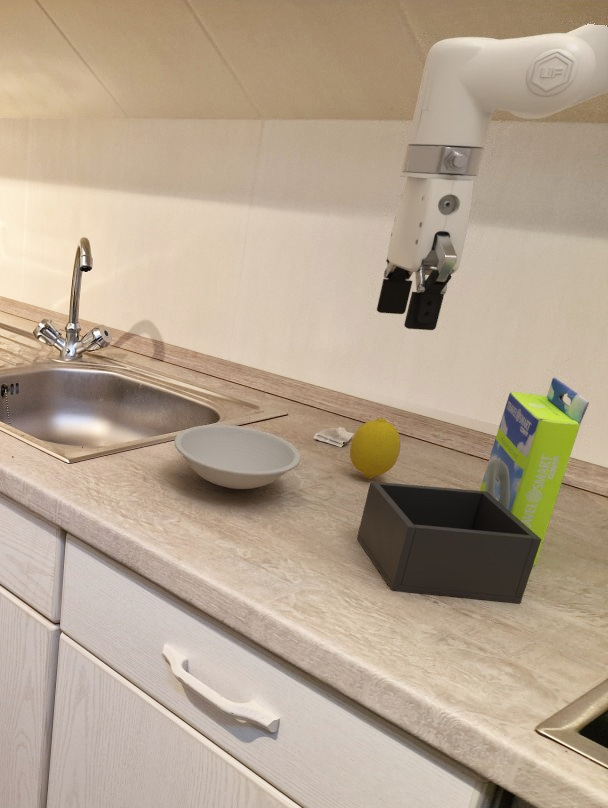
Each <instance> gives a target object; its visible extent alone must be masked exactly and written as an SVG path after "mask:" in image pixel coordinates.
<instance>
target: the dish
mask: <svg viewBox="0 0 608 808" xmlns="http://www.w3.org/2000/svg"><path fill="white" fill-rule="evenodd" d="M174 446H175V449H176V450H177V452H178V453H179V454H180V455H181V456H182V457H183V458H184V460H185V461H186V463H187V464H188V466H189V467H190V468H191V469H192V470H193V472H195V473H196V474H197V475H199V477H201V478H203V479H204V480H206V481H208V482H210V483H212V484H215V485H217V486H220V487H224V488H228V489H237V490H247V489H256V488H261V487H263V486H267V485H269V484H271V483H272V482H274V481H276V480H278V479H280V478H281V477H282V476H284V475H285V474H286V473H288V472H290V471H292V470H294V469H295V468H297V467H298V465H299V464H300V462H301V460H302V459H301V453H300V452H299V450H298V448H297V447H296V446H295V445H294V444H292V443H290V442H289V441H287V440H286V439H284V438H282V437H280V436H277V435H275V434H272V433H270V432H267V431H263V430H260V429H256V428H253V427H248V426H247V427H246V426H241V425H232V424H231V425H230V424H205V425H197V426H193V427H188V428H186V429H184V430H182V431H180V432H179V433H178V434H177V435H176V436H175V438H174Z"/></svg>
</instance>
